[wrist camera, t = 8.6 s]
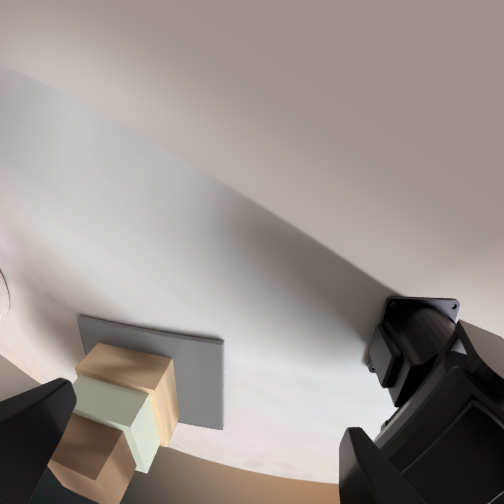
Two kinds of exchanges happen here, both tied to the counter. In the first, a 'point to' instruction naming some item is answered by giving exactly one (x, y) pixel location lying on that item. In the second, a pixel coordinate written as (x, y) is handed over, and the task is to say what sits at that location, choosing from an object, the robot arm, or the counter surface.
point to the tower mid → (120, 415)
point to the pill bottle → (3, 299)
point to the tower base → (138, 380)
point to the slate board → (184, 362)
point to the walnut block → (93, 460)
